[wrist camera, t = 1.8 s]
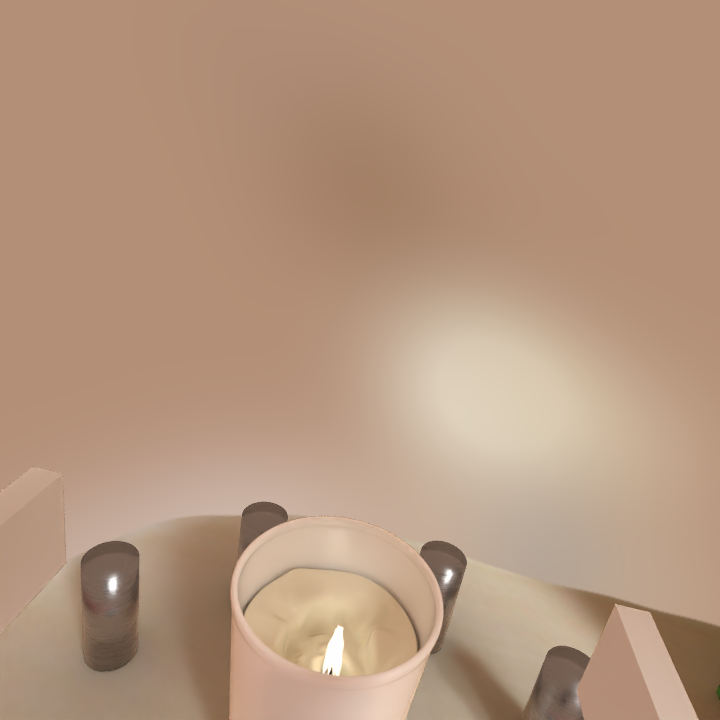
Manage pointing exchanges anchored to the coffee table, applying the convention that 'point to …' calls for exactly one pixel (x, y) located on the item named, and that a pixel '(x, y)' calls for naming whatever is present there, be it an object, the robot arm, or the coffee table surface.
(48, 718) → the coffee table surface
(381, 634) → the candle holder
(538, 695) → the spacer posts
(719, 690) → the hardback book
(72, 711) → the coffee table surface
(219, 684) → the coffee table surface
